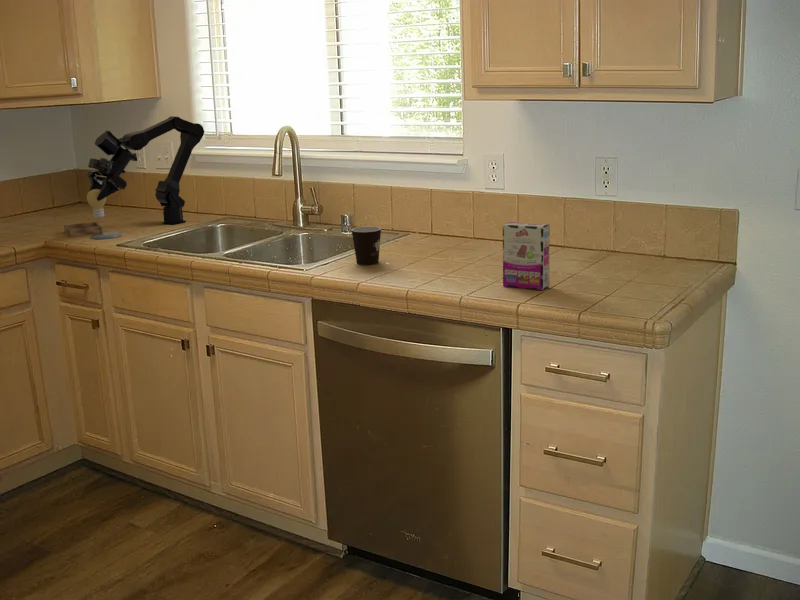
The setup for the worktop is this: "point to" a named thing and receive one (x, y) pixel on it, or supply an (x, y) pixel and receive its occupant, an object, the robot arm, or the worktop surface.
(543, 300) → the worktop surface
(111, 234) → the slate coaster
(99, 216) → the light bulb
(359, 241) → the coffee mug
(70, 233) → the walnut crate
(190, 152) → the robot arm
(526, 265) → the candy bar box
